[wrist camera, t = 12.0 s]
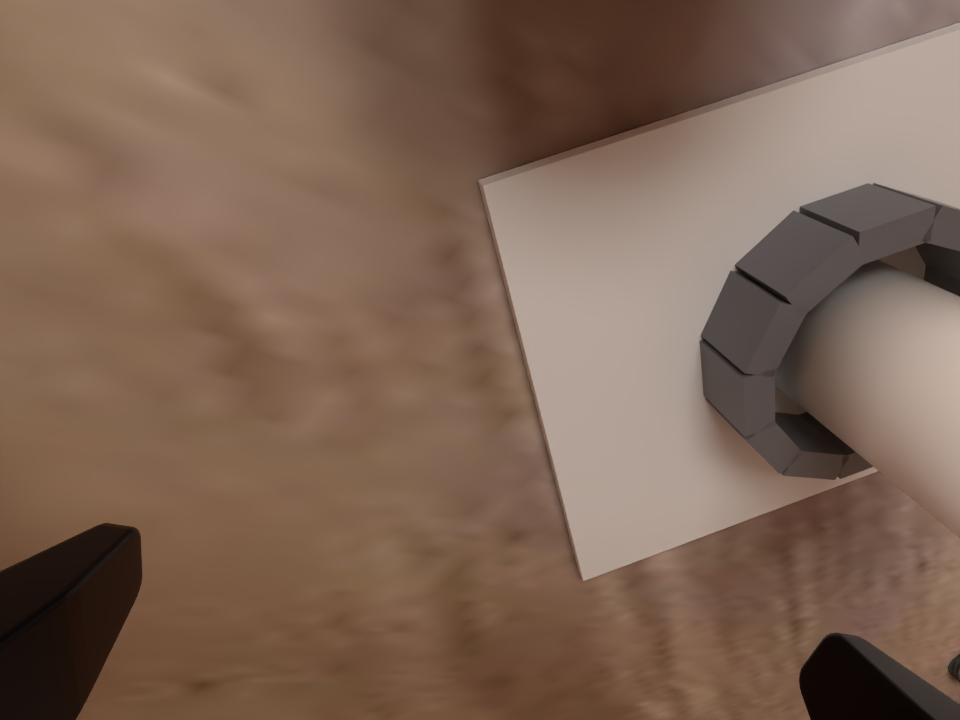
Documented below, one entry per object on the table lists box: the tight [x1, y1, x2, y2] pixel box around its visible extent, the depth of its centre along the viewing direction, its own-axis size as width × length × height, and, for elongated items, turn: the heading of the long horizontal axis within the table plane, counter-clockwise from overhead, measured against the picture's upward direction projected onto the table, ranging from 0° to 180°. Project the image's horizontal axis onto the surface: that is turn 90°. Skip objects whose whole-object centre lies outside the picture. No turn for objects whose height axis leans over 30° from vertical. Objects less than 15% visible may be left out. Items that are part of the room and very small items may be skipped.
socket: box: [478, 23, 960, 581], centre depth 20 cm, size 20×16×3 cm
